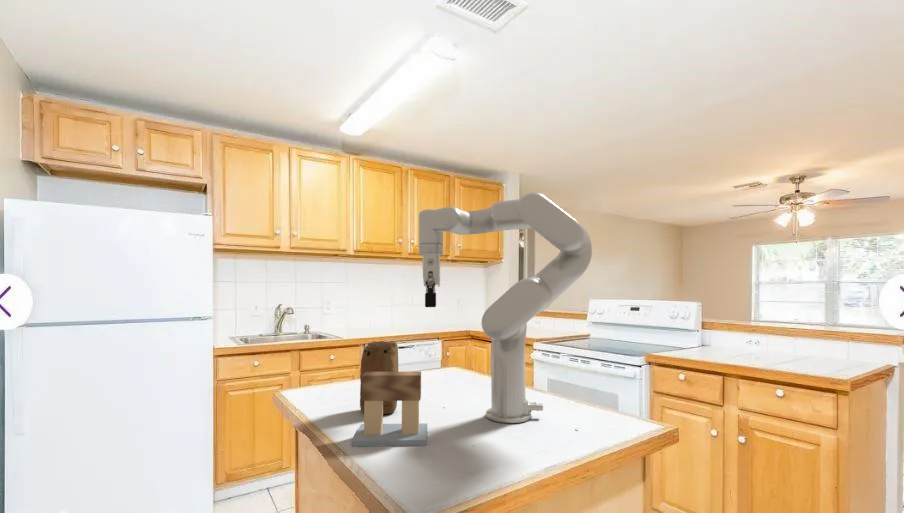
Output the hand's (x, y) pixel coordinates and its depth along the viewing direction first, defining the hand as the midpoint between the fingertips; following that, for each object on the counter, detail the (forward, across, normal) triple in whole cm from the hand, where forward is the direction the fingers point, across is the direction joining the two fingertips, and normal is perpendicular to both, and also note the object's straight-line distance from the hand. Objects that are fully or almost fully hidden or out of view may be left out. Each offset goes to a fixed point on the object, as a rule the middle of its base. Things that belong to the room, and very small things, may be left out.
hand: (430, 306), depth 135 cm
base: (+30, -25, +9) cm, 40 cm away
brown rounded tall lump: (+31, -4, +15) cm, 34 cm away
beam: (+21, -25, +9) cm, 34 cm away
